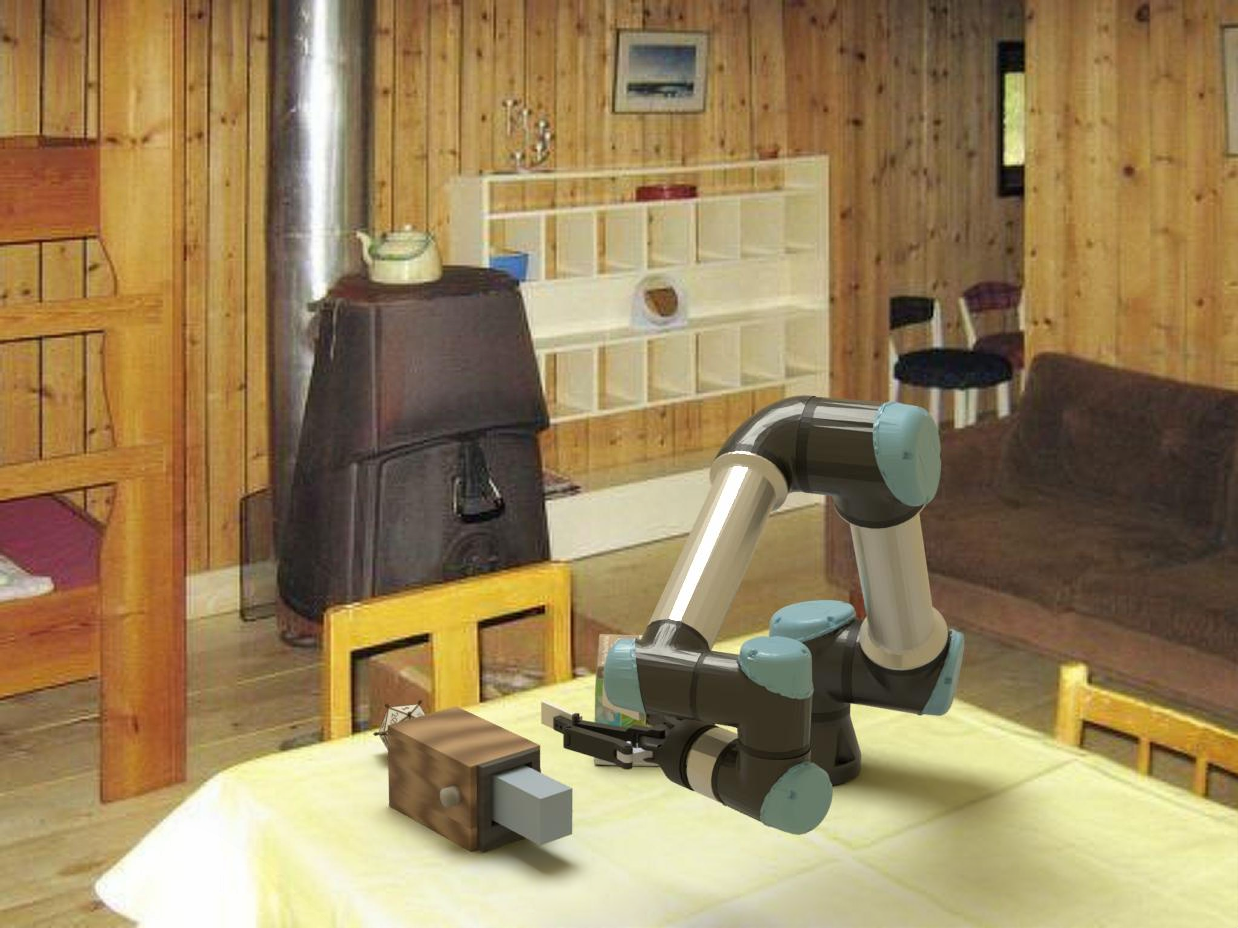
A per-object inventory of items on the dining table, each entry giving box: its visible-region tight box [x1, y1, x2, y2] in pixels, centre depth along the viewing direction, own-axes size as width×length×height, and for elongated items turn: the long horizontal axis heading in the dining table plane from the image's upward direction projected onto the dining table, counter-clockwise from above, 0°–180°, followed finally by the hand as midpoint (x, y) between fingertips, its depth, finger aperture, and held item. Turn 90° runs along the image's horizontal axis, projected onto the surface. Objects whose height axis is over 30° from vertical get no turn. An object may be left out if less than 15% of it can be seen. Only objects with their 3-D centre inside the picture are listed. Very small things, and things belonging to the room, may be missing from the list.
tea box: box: [593, 633, 660, 767], centre depth 252 cm, size 15×10×15 cm
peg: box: [491, 764, 573, 846], centre depth 220 cm, size 15×5×6 cm, turn 42°
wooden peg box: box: [387, 705, 542, 853], centre depth 228 cm, size 19×14×11 cm
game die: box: [372, 698, 426, 751], centre depth 248 cm, size 9×8×10 cm
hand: (574, 702), depth 208 cm, fingers open, 9 cm apart
